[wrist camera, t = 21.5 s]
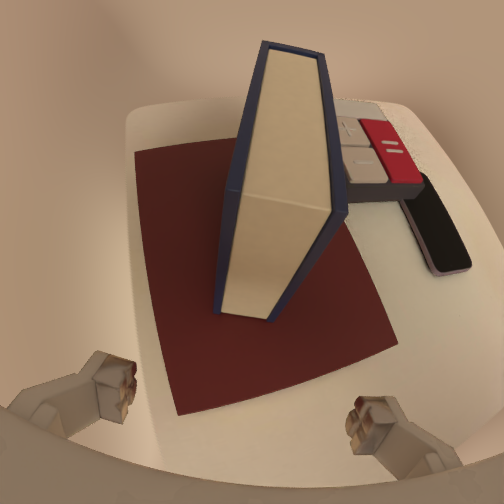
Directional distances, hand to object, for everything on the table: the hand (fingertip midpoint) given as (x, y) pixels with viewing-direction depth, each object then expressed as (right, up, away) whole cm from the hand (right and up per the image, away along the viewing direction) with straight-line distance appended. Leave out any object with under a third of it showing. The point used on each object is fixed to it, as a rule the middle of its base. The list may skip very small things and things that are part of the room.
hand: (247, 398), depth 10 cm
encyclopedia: (0, +4, +17) cm, 17 cm away
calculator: (+13, +17, +26) cm, 34 cm away
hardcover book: (0, +6, +13) cm, 14 cm away
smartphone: (+21, +9, +23) cm, 33 cm away
